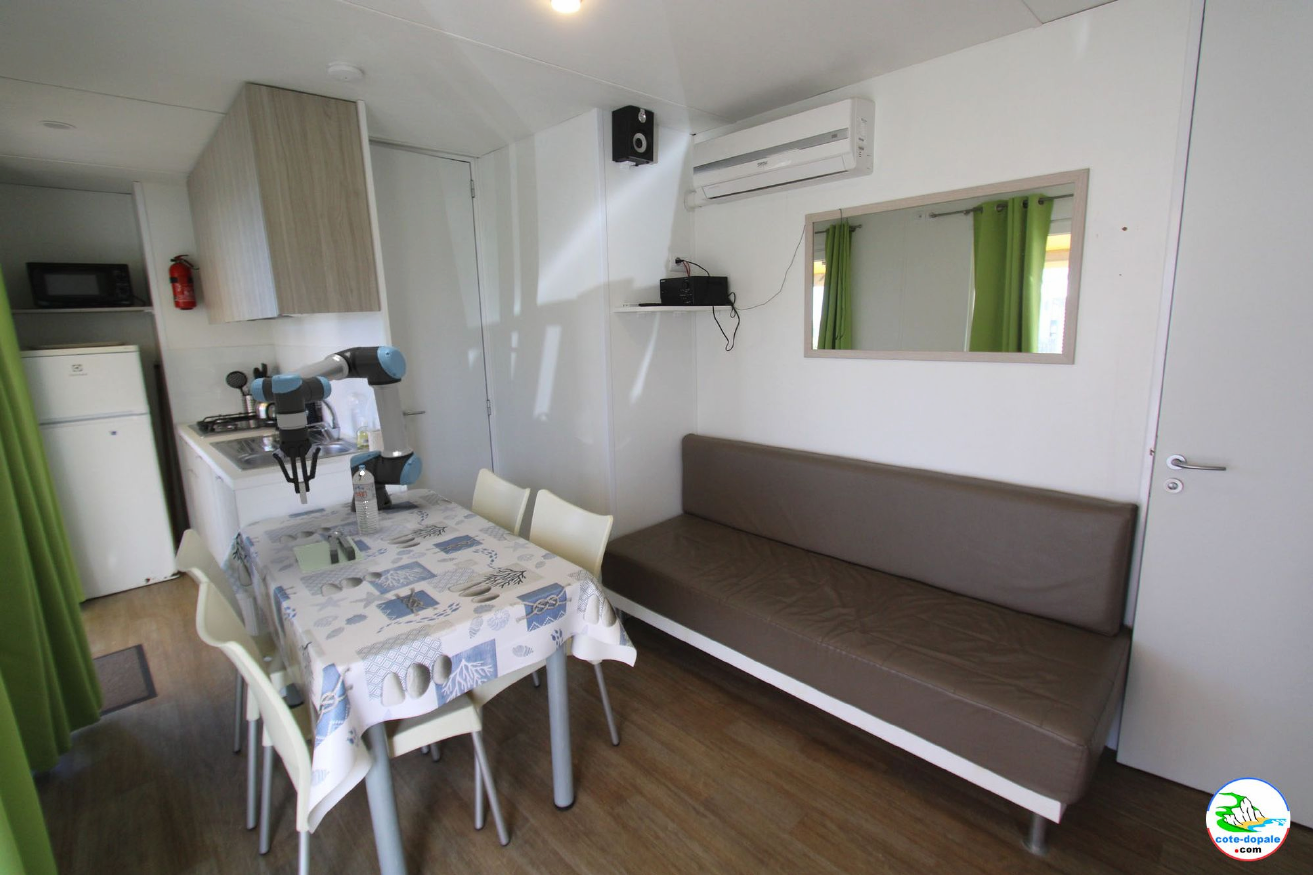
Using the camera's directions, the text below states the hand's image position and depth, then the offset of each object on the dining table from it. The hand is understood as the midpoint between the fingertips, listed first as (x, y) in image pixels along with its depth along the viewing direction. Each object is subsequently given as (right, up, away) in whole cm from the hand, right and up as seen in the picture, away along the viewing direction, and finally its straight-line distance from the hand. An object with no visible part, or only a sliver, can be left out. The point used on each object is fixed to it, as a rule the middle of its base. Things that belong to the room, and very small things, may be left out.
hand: (304, 502), depth 186 cm
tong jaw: (+5, -17, +8) cm, 20 cm away
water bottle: (+6, -15, +29) cm, 33 cm away
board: (+2, -18, +9) cm, 21 cm away
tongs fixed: (+5, -16, +12) cm, 21 cm away
